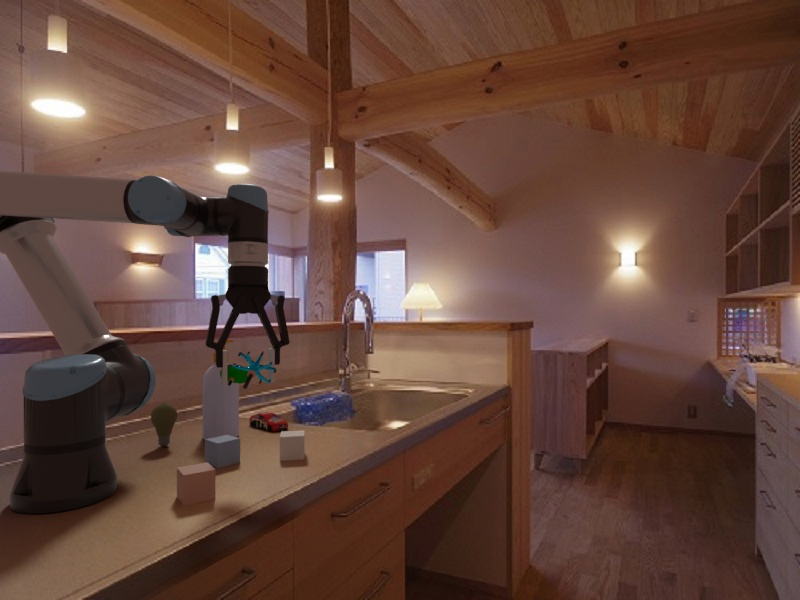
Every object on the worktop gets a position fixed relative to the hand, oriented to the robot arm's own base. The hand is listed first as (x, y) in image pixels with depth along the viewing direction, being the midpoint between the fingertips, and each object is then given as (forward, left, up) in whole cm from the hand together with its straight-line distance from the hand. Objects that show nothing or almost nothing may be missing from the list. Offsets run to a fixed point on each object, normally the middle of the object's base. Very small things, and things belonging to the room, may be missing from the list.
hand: (248, 383), depth 100 cm
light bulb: (-15, +28, -17) cm, 36 cm away
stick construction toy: (-1, -1, -1) cm, 2 cm away
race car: (+10, +37, -18) cm, 42 cm away
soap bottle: (-2, +32, -17) cm, 37 cm away
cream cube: (+10, +7, -17) cm, 21 cm away
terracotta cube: (-10, -10, -17) cm, 22 cm away
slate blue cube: (-4, +9, -17) cm, 20 cm away
